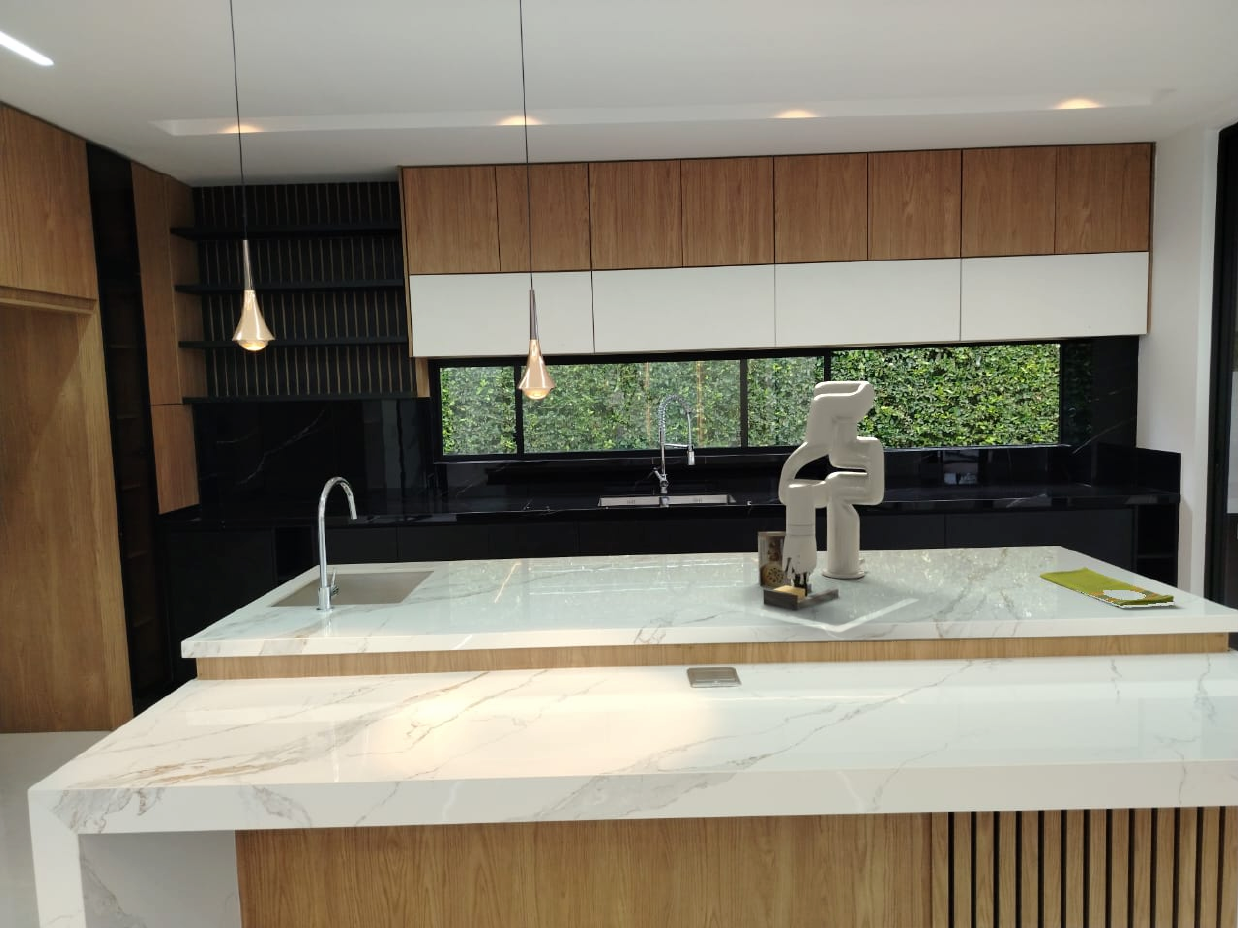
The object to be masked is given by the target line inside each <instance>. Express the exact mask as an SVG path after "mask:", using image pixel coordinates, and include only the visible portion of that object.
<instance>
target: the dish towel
mask: <svg viewBox="0 0 1238 928" xmlns="http://www.w3.org/2000/svg"><path fill="white" fill-rule="evenodd" d="M1040 577H1041V579H1043V580H1046V581H1049V582H1050V583H1054V584H1056V585H1059V586H1062V587H1064V588H1067V589H1069V588H1070V589H1069V590H1072V591H1074V590H1078V591H1081V592H1084V593H1086V594H1089V595H1092V596H1095V597H1098V598H1101V599H1104V600H1106V599H1108V600H1106V601H1108V602H1111V601H1113V602H1112V603H1114V604H1117V605H1120V606H1123V605H1148V604H1156V603H1167V602H1174V603H1175V600H1174V599H1175V598H1174V595H1172V594H1171V595H1170V594H1165V595H1162V594H1160V593H1156V592H1153V591H1150V590H1147V589H1144V588H1141V587H1139V586H1136V585H1133V584H1131V583H1128V582H1123V581H1120V580H1118V579H1115V578H1112V577H1108V576H1106V575H1104V574H1101V573H1099V572H1095V571H1092V570H1091V569H1089V568H1087V567H1086V566H1084V567H1082V568H1081V569H1074V570H1073V569H1072V570H1068V571H1063V570H1062V571H1054V572H1053V571H1052V572H1051V571H1050V572H1045V573H1041V574H1040V575H1039V578H1040ZM1103 590H1111V591H1112V590H1130V591H1135V592H1139V593H1142V594H1145V595H1146V597H1145V596H1144V597H1145V598H1143V599H1137V600H1122V599H1121V600H1120V599H1116V598H1112V597H1109V596H1107V595H1104V594H1103V593H1104V592H1103Z"/></svg>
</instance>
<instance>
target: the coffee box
mask: <svg viewBox="0 0 1238 928" xmlns="http://www.w3.org/2000/svg"><path fill="white" fill-rule="evenodd" d="M785 536H787V535H786V531H757V544H758V545H757V549H758V551H757V552H758V553H757V555H758V557H757V559H758V560H757V561H758V562H757V563H758V566H757V567H758V584H759V587H782V586H785V585H787V586H792V579H788V578H787V574H788V572H783V570H782V561H783V547H784V541H785Z"/></svg>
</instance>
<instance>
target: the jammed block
mask: <svg viewBox="0 0 1238 928" xmlns="http://www.w3.org/2000/svg"><path fill="white" fill-rule="evenodd" d="M772 590H773V591H778V592H783V593H788V594H793V595H798V599H800V598H803V597H805V589H803V588H797V587H794V586H792V585H791V586H787V585H785V586H778V587H776V588H773V589H772Z"/></svg>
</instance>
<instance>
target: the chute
mask: <svg viewBox="0 0 1238 928" xmlns="http://www.w3.org/2000/svg"><path fill="white" fill-rule="evenodd" d="M811 591H812V583H809V582H808V583H807V593H809V592H811ZM836 597H839V588H836V587H832V588H830V589H826V590H823V591H820V592H818V593H815V594H811V595H809V596H808V595H807V597H803V598H800V599H798V595H793V594H788V593H783V592H778V591H773V589H767V588H764V589H763V605H767V606H771V607H775V608H781V609H785V610H789V611H793V612H798V611H800V610H803V609H806V608H809V607H812V606H814V605H817V604H819V603H822V602H825V601H827V600H831V599H834V598H836Z"/></svg>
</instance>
